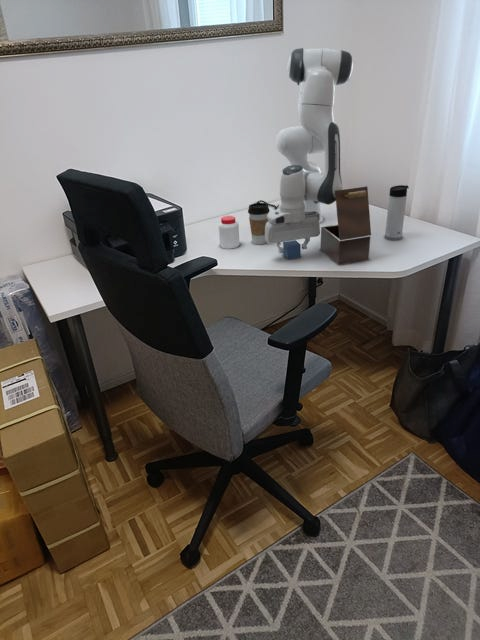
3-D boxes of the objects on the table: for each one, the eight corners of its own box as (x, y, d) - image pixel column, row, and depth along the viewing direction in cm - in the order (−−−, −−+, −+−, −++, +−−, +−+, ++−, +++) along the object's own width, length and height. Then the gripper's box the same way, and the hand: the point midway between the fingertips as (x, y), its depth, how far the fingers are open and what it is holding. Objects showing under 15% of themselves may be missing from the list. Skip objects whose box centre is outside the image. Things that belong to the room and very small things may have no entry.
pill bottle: (232, 249, 189) (231, 222, 184) (216, 246, 193) (214, 219, 187) (243, 243, 195) (242, 216, 189) (227, 240, 198) (225, 213, 193)
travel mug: (403, 240, 188) (409, 188, 178) (385, 240, 190) (390, 188, 179) (401, 234, 193) (408, 183, 183) (384, 234, 195) (389, 183, 185)
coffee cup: (246, 244, 193) (244, 207, 185) (253, 237, 200) (251, 200, 192) (266, 246, 190) (265, 208, 183) (273, 238, 197) (272, 201, 190)
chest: (320, 249, 185) (321, 226, 181) (348, 244, 187) (349, 222, 183) (338, 264, 172) (339, 241, 168) (368, 259, 174) (370, 236, 170)
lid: (334, 190, 164) (341, 189, 159) (366, 186, 167) (373, 185, 162) (339, 239, 168) (345, 240, 163) (370, 235, 170) (377, 235, 165)
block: (287, 259, 178) (287, 246, 176) (283, 254, 183) (282, 241, 180) (300, 257, 179) (300, 244, 177) (295, 252, 184) (295, 239, 181)
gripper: (316, 207, 178) (315, 243, 185) (262, 215, 173) (263, 251, 180) (323, 212, 172) (322, 249, 179) (268, 220, 168) (269, 258, 175)
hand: (292, 250), depth 180 cm, fingers open, 8 cm apart
